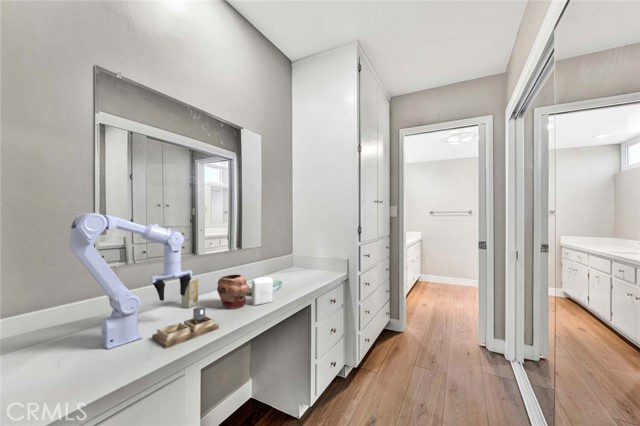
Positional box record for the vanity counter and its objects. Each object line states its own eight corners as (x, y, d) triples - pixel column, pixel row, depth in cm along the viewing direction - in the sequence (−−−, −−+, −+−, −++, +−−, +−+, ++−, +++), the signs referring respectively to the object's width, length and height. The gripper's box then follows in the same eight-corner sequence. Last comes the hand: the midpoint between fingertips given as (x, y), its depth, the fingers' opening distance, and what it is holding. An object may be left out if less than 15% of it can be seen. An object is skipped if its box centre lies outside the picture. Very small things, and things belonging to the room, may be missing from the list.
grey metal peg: (196, 328, 93) (196, 311, 93) (190, 325, 95) (191, 309, 95) (207, 324, 96) (207, 308, 96) (201, 322, 98) (201, 306, 98)
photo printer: (270, 300, 129) (270, 275, 130) (274, 302, 126) (274, 276, 126) (250, 303, 123) (250, 278, 124) (253, 306, 120) (253, 279, 120)
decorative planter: (205, 305, 121) (206, 276, 121) (226, 298, 131) (226, 271, 132) (237, 313, 111) (237, 280, 112) (256, 304, 122) (256, 275, 122)
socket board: (166, 348, 81) (166, 337, 81) (152, 338, 88) (152, 328, 88) (218, 328, 96) (218, 319, 96) (203, 321, 102) (203, 313, 102)
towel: (234, 295, 138) (234, 286, 138) (255, 285, 158) (256, 277, 158) (264, 298, 132) (264, 288, 132) (282, 288, 153) (282, 279, 153)
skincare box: (189, 308, 117) (189, 281, 117) (180, 307, 118) (181, 280, 118) (198, 303, 123) (198, 278, 124) (190, 303, 124) (190, 277, 124)
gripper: (156, 266, 91) (156, 304, 91) (196, 260, 103) (196, 294, 103) (148, 264, 96) (148, 300, 95) (187, 258, 107) (187, 291, 107)
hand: (172, 297), depth 99 cm, fingers open, 7 cm apart
